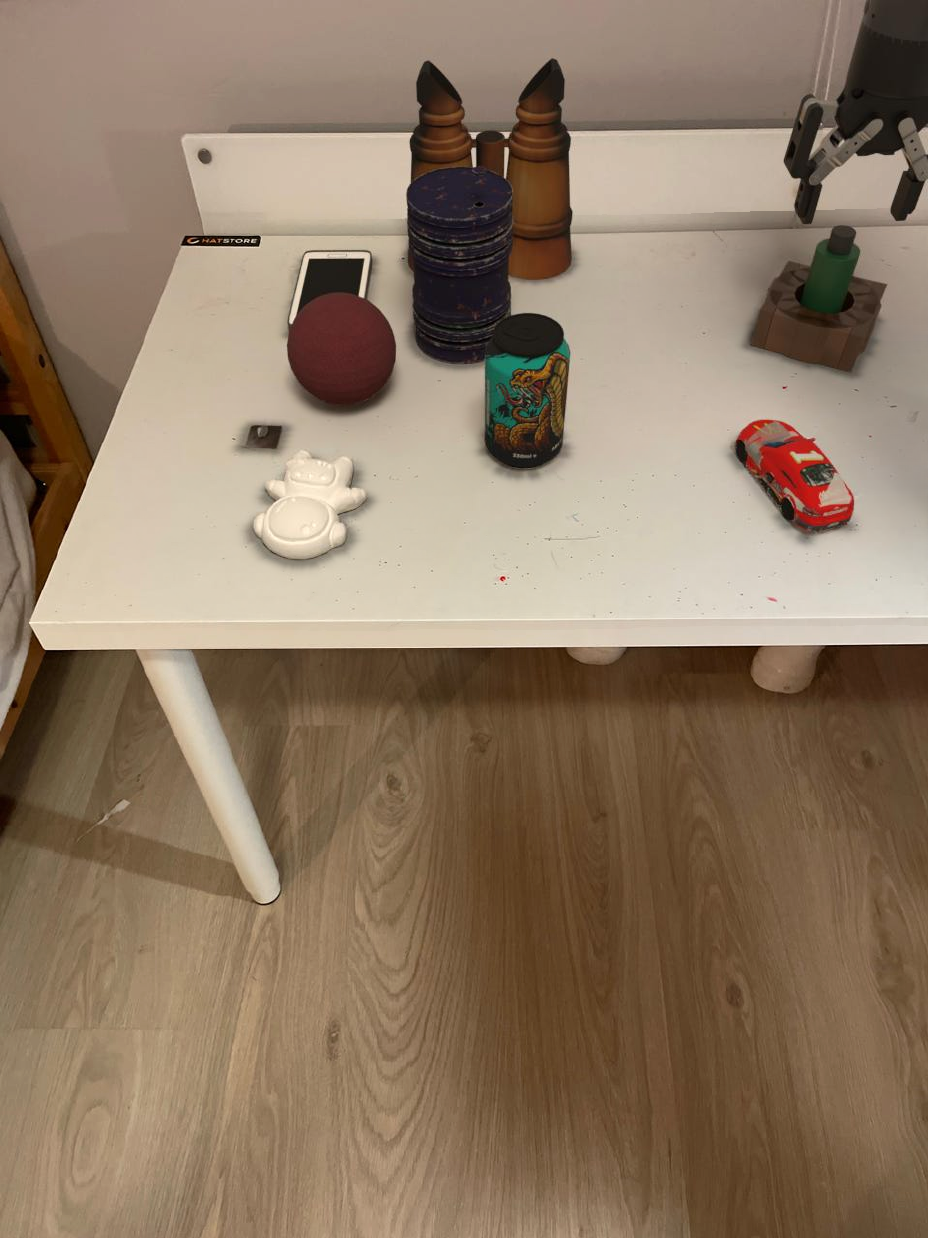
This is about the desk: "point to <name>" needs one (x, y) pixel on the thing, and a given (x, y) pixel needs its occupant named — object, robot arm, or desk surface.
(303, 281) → the cell phone
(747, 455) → the race car
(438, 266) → the dark blue cylinder
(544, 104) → the binoculars
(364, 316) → the decorative ball
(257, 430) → the dark square tile
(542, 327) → the beverage can
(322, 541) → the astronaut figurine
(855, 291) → the ashtray
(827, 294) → the bottle
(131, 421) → the desk surface
